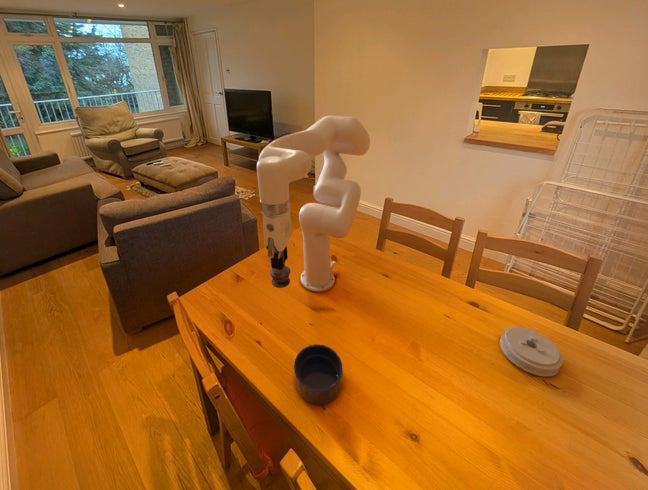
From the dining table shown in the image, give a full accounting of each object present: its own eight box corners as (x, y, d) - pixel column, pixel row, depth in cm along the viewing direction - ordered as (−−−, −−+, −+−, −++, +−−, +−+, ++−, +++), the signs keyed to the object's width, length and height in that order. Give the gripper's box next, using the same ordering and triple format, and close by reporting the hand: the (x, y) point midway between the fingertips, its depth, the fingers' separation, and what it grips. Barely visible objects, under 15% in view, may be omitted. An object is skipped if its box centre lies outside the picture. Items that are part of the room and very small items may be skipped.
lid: (556, 389, 70) (563, 376, 68) (494, 357, 78) (498, 345, 76) (560, 352, 79) (566, 339, 77) (503, 327, 87) (507, 315, 85)
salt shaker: (288, 289, 81) (286, 254, 77) (268, 287, 83) (264, 252, 78) (293, 275, 87) (291, 241, 82) (273, 273, 88) (270, 239, 83)
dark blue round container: (315, 351, 83) (314, 336, 81) (351, 379, 75) (352, 364, 73) (285, 382, 76) (284, 367, 73) (322, 418, 68) (322, 402, 65)
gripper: (279, 222, 66) (283, 285, 74) (297, 192, 81) (300, 248, 88) (248, 219, 68) (256, 281, 76) (272, 190, 83) (276, 245, 90)
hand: (279, 262), depth 82 cm, fingers closed on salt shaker, 3 cm apart
